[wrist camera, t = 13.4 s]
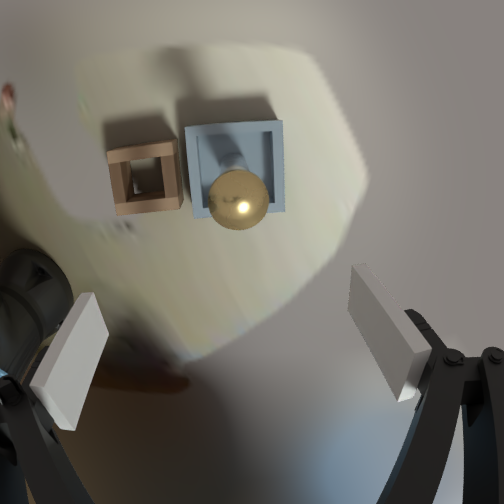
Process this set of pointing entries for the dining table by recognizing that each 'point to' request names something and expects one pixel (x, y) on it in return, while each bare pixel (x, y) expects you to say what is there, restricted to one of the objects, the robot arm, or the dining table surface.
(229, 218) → the pin
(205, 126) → the tray
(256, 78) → the dining table surface
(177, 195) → the block
